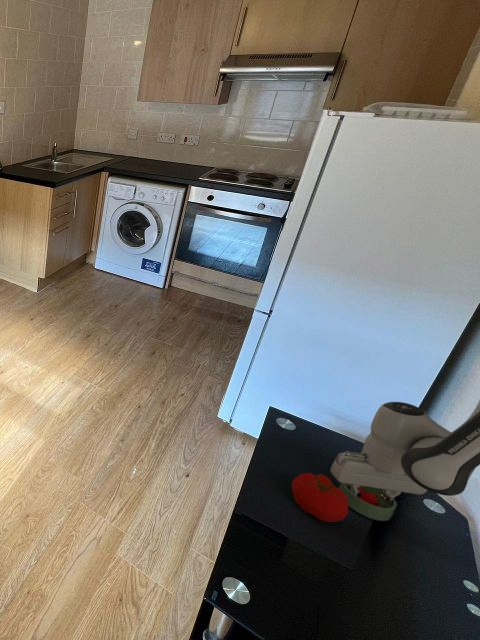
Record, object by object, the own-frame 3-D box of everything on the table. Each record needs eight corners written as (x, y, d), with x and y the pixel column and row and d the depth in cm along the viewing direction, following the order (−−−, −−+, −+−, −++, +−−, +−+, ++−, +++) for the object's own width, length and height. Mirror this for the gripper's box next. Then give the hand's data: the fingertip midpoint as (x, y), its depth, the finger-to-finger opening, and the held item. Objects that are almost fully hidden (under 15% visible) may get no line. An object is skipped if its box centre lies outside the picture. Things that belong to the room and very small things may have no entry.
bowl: (372, 491, 117) (377, 479, 115) (402, 526, 106) (408, 513, 105) (328, 483, 119) (333, 472, 118) (353, 517, 109) (358, 504, 107)
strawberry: (366, 497, 114) (372, 484, 113) (376, 510, 110) (382, 496, 109) (350, 494, 115) (355, 481, 113) (359, 507, 111) (365, 493, 110)
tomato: (338, 537, 103) (349, 510, 100) (282, 504, 112) (291, 478, 109) (347, 513, 110) (357, 488, 107) (293, 484, 118) (301, 460, 116)
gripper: (347, 459, 106) (333, 499, 111) (441, 472, 102) (423, 514, 106) (332, 442, 112) (319, 481, 116) (421, 454, 108) (404, 494, 112)
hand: (370, 497), depth 111 cm, fingers open, 6 cm apart
